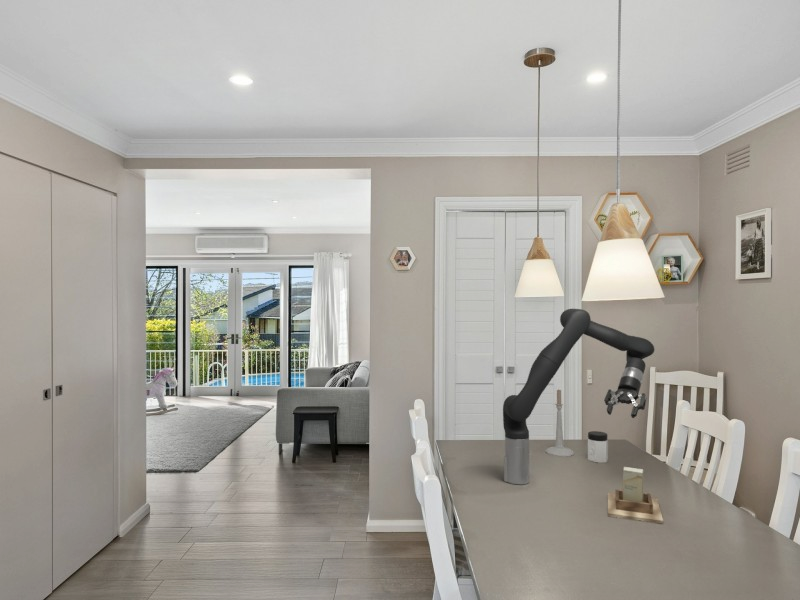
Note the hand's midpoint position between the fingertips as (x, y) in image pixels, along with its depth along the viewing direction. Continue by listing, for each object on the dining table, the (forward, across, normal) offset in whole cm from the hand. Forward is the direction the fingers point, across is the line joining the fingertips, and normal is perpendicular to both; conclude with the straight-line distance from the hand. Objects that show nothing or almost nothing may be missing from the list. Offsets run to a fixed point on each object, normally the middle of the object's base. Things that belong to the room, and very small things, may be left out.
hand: (620, 415), depth 190 cm
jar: (-3, -21, +43) cm, 48 cm away
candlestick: (-3, -39, +43) cm, 58 cm away
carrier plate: (+31, +10, +8) cm, 33 cm away
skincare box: (+30, +10, +8) cm, 33 cm away
